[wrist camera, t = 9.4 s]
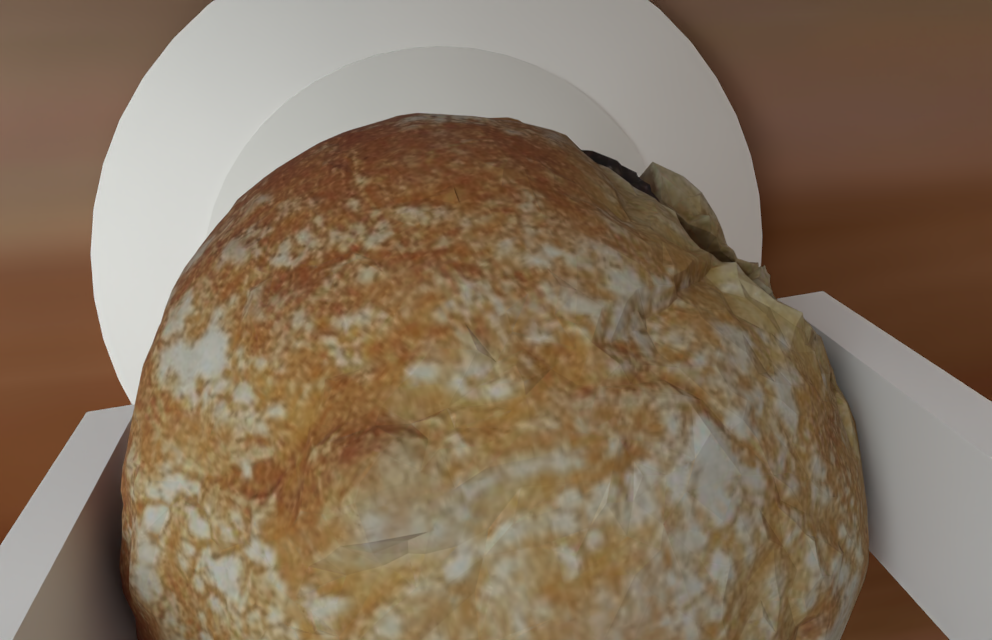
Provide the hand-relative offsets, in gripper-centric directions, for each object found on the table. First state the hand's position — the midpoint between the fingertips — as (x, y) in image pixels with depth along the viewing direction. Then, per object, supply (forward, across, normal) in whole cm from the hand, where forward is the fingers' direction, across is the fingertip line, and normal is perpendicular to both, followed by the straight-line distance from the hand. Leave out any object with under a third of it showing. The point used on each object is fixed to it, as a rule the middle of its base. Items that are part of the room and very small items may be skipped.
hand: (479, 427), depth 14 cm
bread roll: (0, 0, 0) cm, 1 cm away
